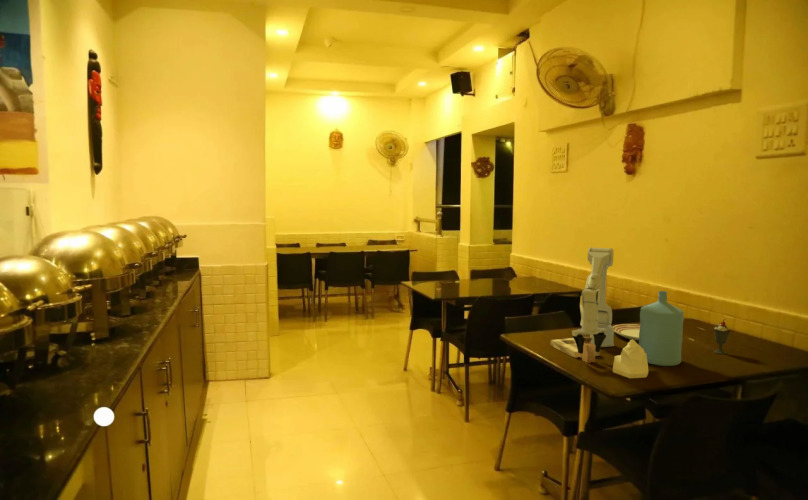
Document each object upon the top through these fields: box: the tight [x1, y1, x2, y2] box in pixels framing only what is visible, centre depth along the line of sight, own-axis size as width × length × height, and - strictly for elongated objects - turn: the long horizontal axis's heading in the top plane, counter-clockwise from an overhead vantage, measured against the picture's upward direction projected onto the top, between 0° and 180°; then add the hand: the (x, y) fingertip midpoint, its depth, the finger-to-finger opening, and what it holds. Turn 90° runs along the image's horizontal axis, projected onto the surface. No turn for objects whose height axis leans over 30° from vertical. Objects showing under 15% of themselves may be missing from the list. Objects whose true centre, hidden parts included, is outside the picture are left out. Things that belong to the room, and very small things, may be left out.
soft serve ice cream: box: [612, 339, 649, 379], centre depth 192 cm, size 12×15×14 cm
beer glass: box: [579, 297, 583, 327], centre depth 261 cm, size 7×7×15 cm
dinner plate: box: [612, 323, 640, 342], centre depth 242 cm, size 27×27×3 cm
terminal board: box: [550, 336, 601, 359], centre depth 221 cm, size 12×18×6 cm, turn 16°
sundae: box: [712, 318, 732, 355], centre depth 217 cm, size 7×7×15 cm
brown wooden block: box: [581, 343, 596, 364], centre depth 207 cm, size 4×4×7 cm
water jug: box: [638, 290, 685, 367], centre depth 207 cm, size 16×16×28 cm
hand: (588, 352), depth 207 cm, fingers open, 7 cm apart
